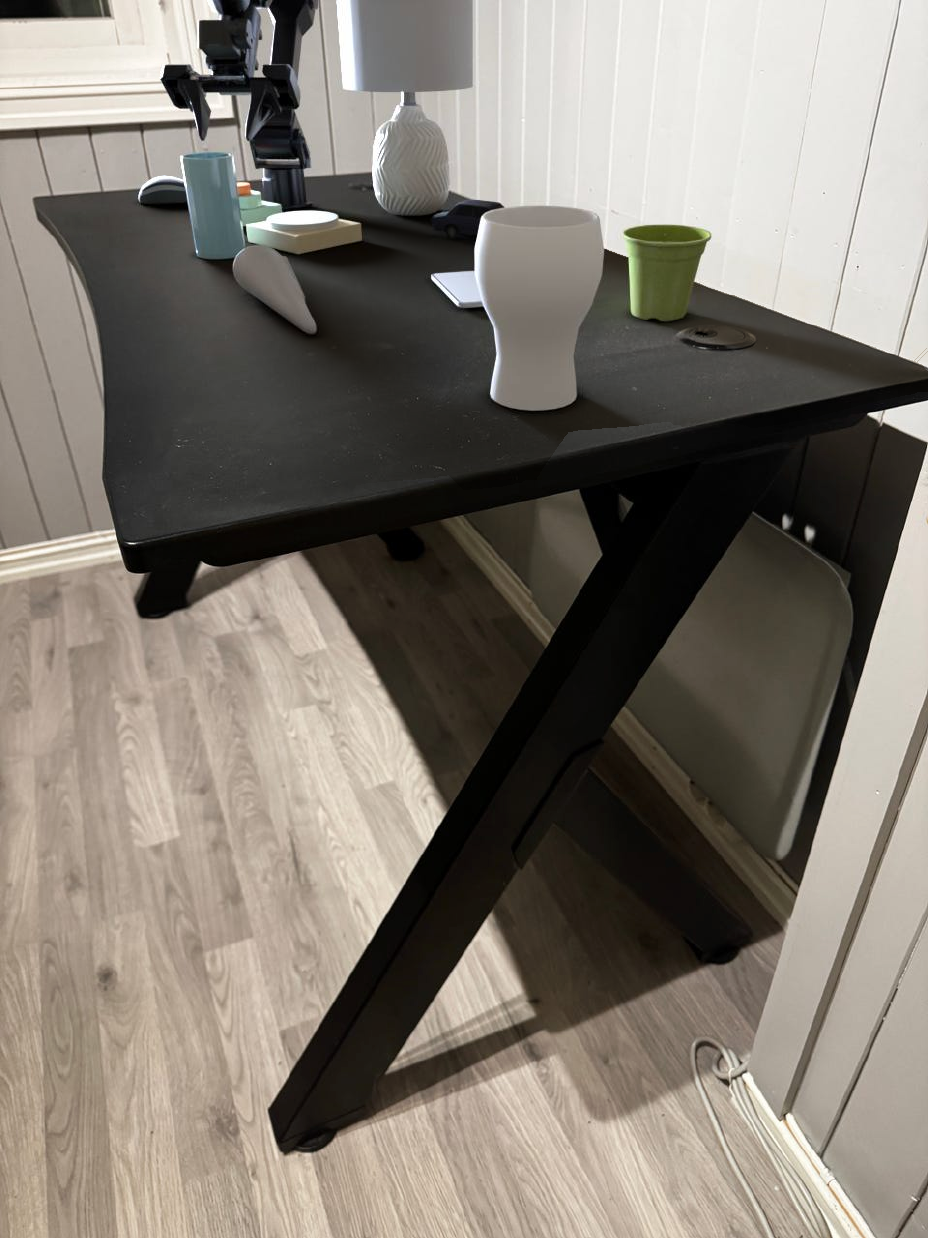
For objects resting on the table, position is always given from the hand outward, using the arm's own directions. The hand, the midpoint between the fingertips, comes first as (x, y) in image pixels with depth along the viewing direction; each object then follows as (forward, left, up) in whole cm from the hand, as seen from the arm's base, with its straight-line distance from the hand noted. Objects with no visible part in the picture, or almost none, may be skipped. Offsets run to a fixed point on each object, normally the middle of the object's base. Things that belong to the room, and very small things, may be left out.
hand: (224, 138), depth 127 cm
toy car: (-26, +25, -14) cm, 39 cm away
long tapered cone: (+19, +35, -14) cm, 43 cm away
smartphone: (-3, +45, -14) cm, 48 cm away
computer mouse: (-12, -37, -14) cm, 41 cm away
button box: (-10, -13, -14) cm, 21 cm away
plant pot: (-10, +67, -14) cm, 70 cm away
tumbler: (+6, +5, -14) cm, 16 cm away
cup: (+19, +73, -14) cm, 77 cm away
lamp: (-33, +3, -14) cm, 36 cm away
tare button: (-10, -13, -10) cm, 19 cm away
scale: (-7, +7, -14) cm, 17 cm away
